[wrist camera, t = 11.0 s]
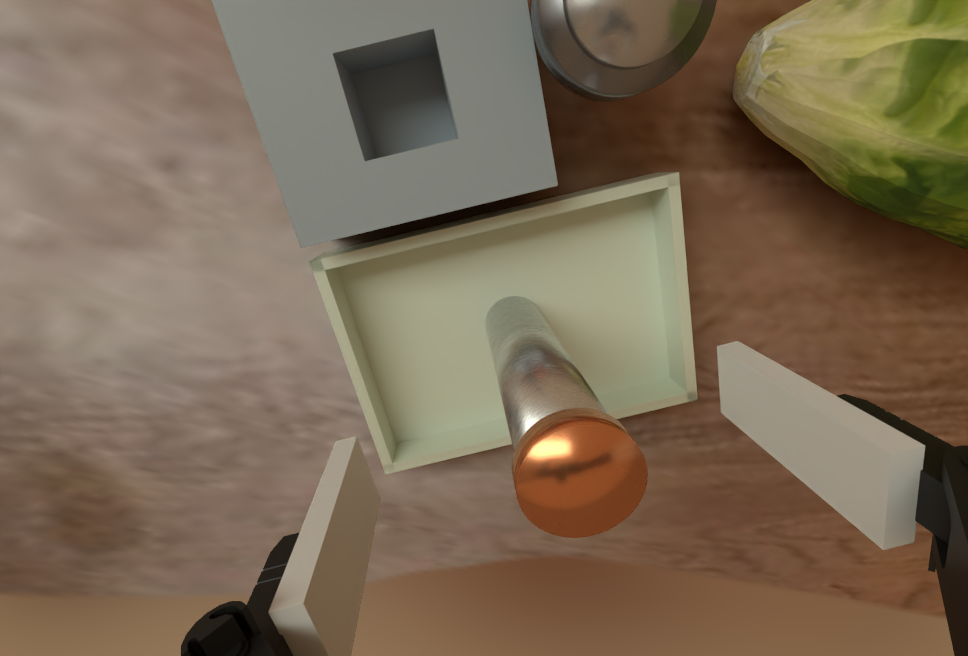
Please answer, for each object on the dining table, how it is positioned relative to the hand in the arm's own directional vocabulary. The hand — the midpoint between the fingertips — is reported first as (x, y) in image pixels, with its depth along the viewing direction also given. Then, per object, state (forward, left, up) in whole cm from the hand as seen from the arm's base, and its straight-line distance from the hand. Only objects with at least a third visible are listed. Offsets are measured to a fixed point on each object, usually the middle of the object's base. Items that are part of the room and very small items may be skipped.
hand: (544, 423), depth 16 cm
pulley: (+6, +13, -12) cm, 19 cm away
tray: (0, 0, -12) cm, 12 cm away
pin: (0, 0, -12) cm, 12 cm away
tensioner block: (-3, +12, -12) cm, 18 cm away
